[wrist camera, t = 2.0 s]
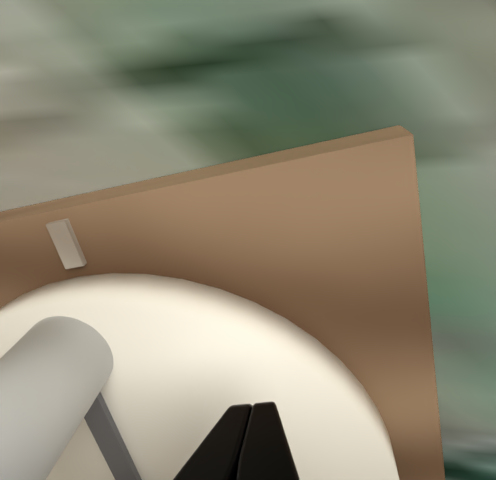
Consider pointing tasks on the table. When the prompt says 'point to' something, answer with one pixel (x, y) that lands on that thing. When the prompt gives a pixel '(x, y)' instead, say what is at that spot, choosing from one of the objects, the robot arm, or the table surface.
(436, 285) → the table surface
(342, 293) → the dial base
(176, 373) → the dial
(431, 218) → the table surface
